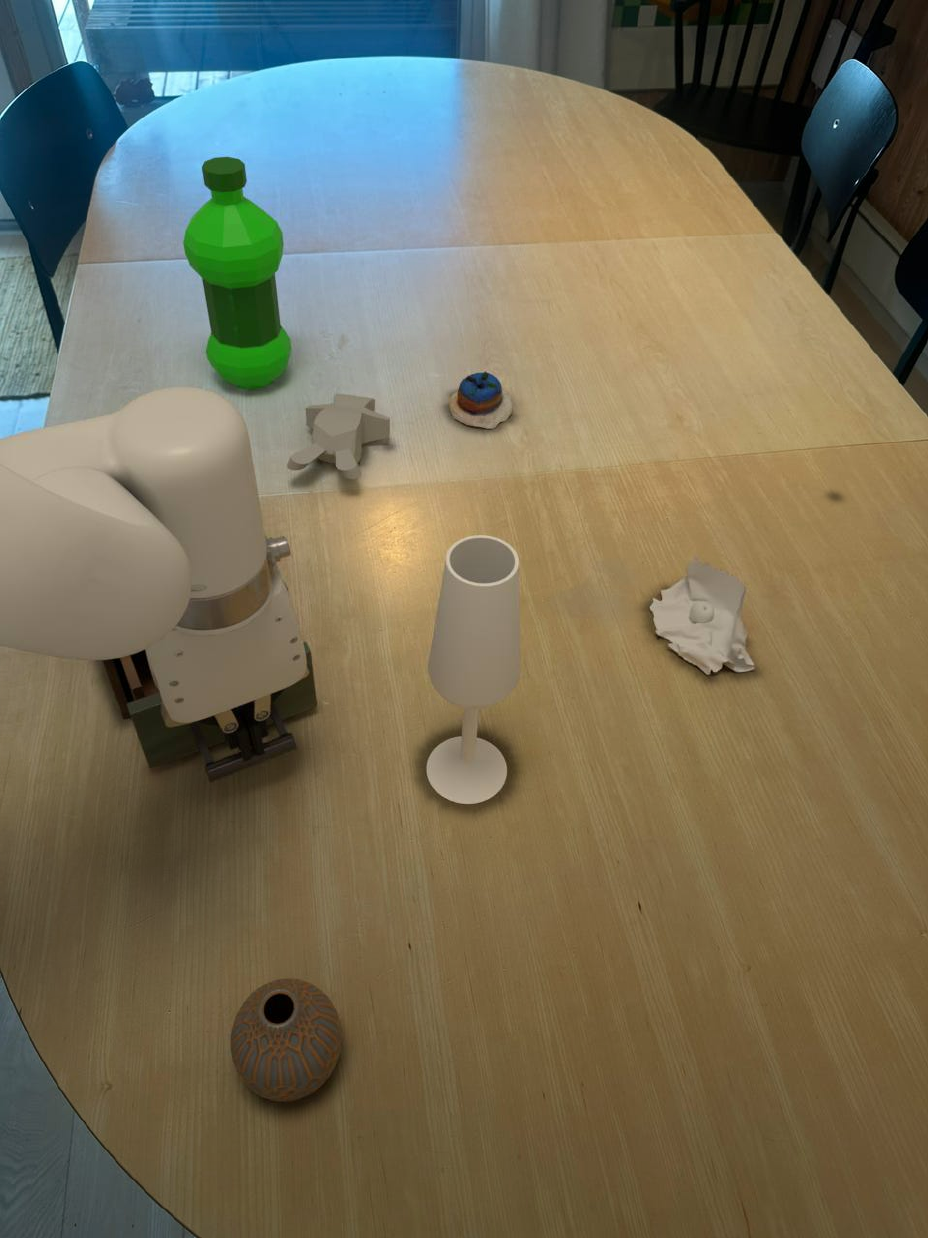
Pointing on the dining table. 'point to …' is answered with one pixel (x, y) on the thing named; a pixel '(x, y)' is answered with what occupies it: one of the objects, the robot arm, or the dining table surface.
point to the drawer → (196, 736)
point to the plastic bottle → (238, 278)
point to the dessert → (481, 401)
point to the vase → (286, 1039)
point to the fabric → (705, 619)
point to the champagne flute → (474, 661)
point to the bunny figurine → (341, 433)
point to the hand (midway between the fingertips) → (248, 743)
